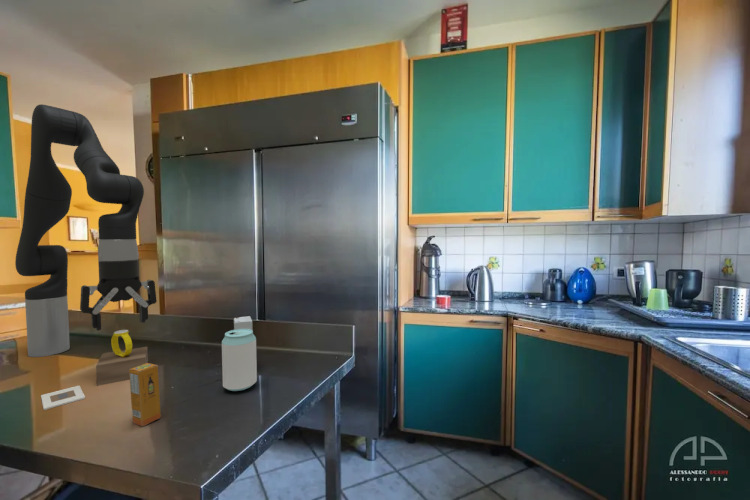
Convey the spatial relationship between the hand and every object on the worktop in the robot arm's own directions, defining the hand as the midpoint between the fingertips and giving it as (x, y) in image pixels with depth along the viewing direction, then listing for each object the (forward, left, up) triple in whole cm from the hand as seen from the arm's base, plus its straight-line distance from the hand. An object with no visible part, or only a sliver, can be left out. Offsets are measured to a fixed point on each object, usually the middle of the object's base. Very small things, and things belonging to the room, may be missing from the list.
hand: (121, 325), depth 79 cm
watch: (0, 0, -7) cm, 7 cm away
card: (+5, -11, -12) cm, 17 cm away
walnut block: (0, 0, -12) cm, 12 cm away
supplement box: (+28, -2, -12) cm, 31 cm away
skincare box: (+17, +22, -12) cm, 30 cm away
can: (+27, +16, -12) cm, 34 cm away
